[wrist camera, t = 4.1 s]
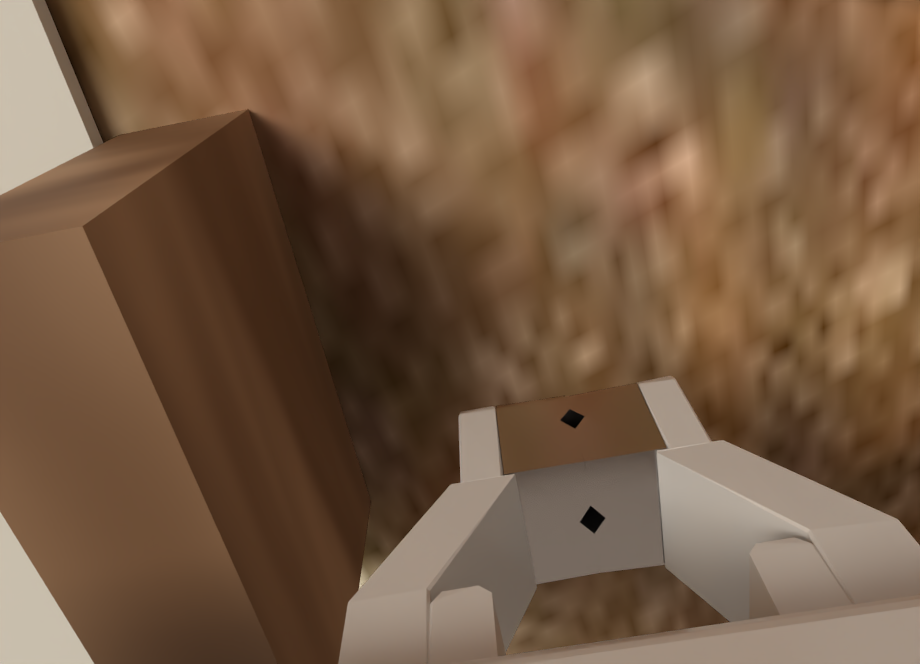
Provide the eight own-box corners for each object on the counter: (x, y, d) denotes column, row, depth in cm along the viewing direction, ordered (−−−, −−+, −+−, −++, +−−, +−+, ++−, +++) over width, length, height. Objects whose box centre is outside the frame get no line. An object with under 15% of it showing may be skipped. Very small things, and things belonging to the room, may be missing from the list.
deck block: (249, 108, 13) (82, 226, 7) (371, 500, 17) (330, 782, 11) (120, 134, 13) (-150, 270, 7) (272, 515, 17) (180, 803, 11)
